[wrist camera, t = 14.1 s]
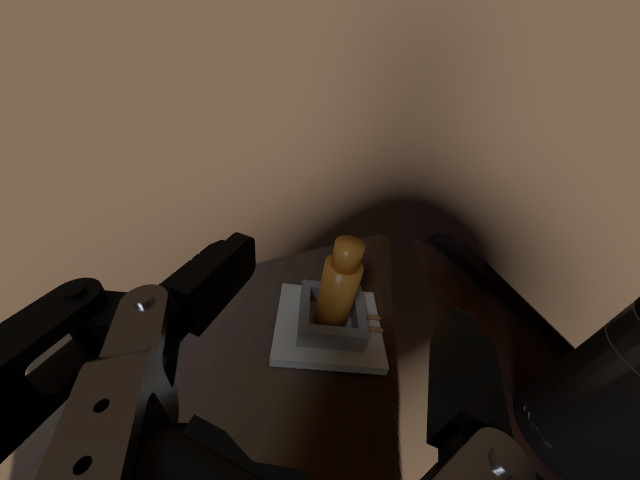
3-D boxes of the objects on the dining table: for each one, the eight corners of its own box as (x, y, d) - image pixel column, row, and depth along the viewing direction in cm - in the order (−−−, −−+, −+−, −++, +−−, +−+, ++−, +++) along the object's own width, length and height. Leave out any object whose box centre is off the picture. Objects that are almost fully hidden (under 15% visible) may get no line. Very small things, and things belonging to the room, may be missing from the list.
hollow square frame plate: (371, 299, 42) (379, 278, 39) (386, 375, 32) (398, 354, 29) (281, 290, 41) (283, 268, 38) (269, 366, 31) (270, 343, 28)
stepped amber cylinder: (344, 309, 37) (367, 234, 30) (346, 337, 34) (374, 259, 26) (313, 306, 37) (329, 229, 29) (312, 334, 33) (330, 254, 26)
